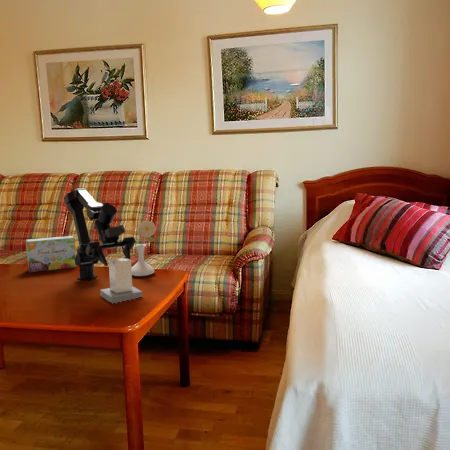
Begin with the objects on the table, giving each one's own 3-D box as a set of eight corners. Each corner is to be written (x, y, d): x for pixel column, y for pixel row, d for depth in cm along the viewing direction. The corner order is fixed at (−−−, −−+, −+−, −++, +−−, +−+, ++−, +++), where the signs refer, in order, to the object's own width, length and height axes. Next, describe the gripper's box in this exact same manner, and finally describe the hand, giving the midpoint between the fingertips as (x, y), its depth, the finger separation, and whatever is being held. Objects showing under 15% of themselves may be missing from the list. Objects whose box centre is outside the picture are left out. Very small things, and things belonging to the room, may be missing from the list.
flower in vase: (126, 278, 195) (123, 222, 191) (132, 271, 206) (130, 218, 203) (155, 278, 195) (153, 222, 191) (160, 271, 206) (158, 218, 202)
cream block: (109, 289, 170) (108, 259, 169) (125, 287, 174) (124, 257, 172) (116, 293, 165) (115, 262, 164) (132, 290, 169) (131, 259, 167)
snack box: (29, 273, 206) (26, 241, 204) (28, 270, 211) (25, 239, 209) (76, 267, 216) (74, 236, 213) (74, 264, 221) (72, 235, 218)
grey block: (100, 297, 171) (100, 289, 171) (129, 291, 178) (129, 284, 178) (112, 305, 162) (111, 297, 161) (142, 299, 169) (142, 291, 168)
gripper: (86, 221, 164) (100, 255, 158) (132, 216, 176) (147, 248, 169) (80, 238, 172) (92, 272, 165) (124, 233, 183) (138, 264, 176)
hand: (118, 263), depth 169 cm, fingers open, 9 cm apart
